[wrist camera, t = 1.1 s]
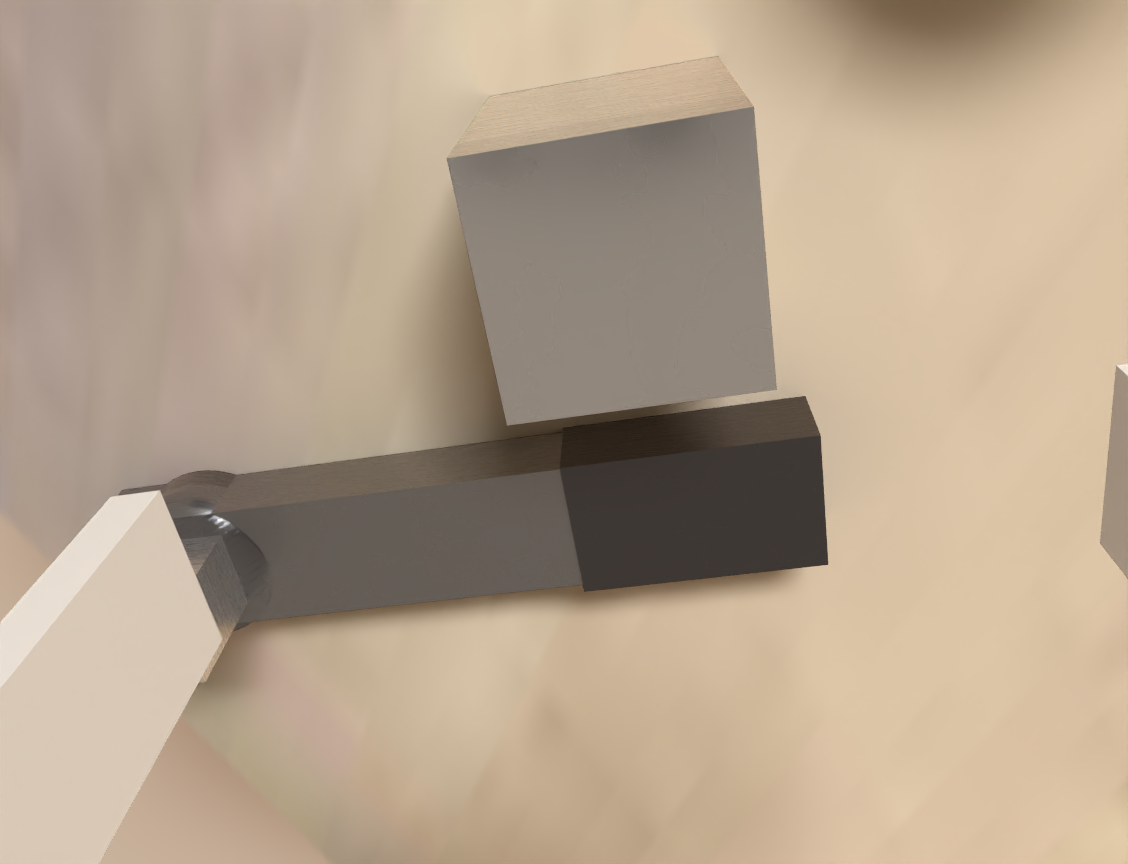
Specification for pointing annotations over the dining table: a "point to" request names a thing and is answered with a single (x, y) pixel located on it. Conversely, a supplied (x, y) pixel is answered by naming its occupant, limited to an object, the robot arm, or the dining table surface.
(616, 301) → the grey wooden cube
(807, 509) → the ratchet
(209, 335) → the dining table surface
